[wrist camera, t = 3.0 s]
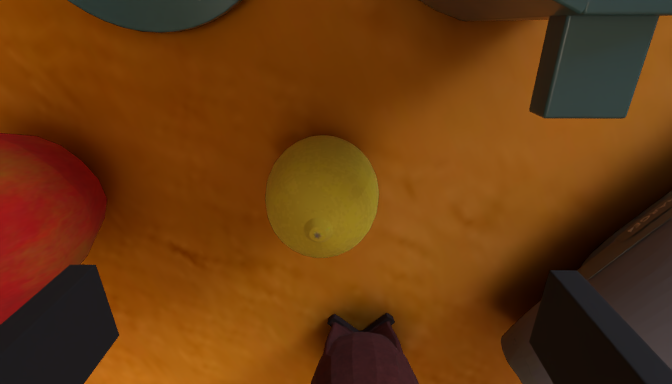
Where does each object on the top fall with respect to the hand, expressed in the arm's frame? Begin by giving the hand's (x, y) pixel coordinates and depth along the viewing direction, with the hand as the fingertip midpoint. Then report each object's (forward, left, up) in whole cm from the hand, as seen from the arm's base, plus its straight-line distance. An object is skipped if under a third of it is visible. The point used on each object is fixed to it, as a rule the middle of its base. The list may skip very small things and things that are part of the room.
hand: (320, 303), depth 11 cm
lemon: (0, 0, -12) cm, 12 cm away
